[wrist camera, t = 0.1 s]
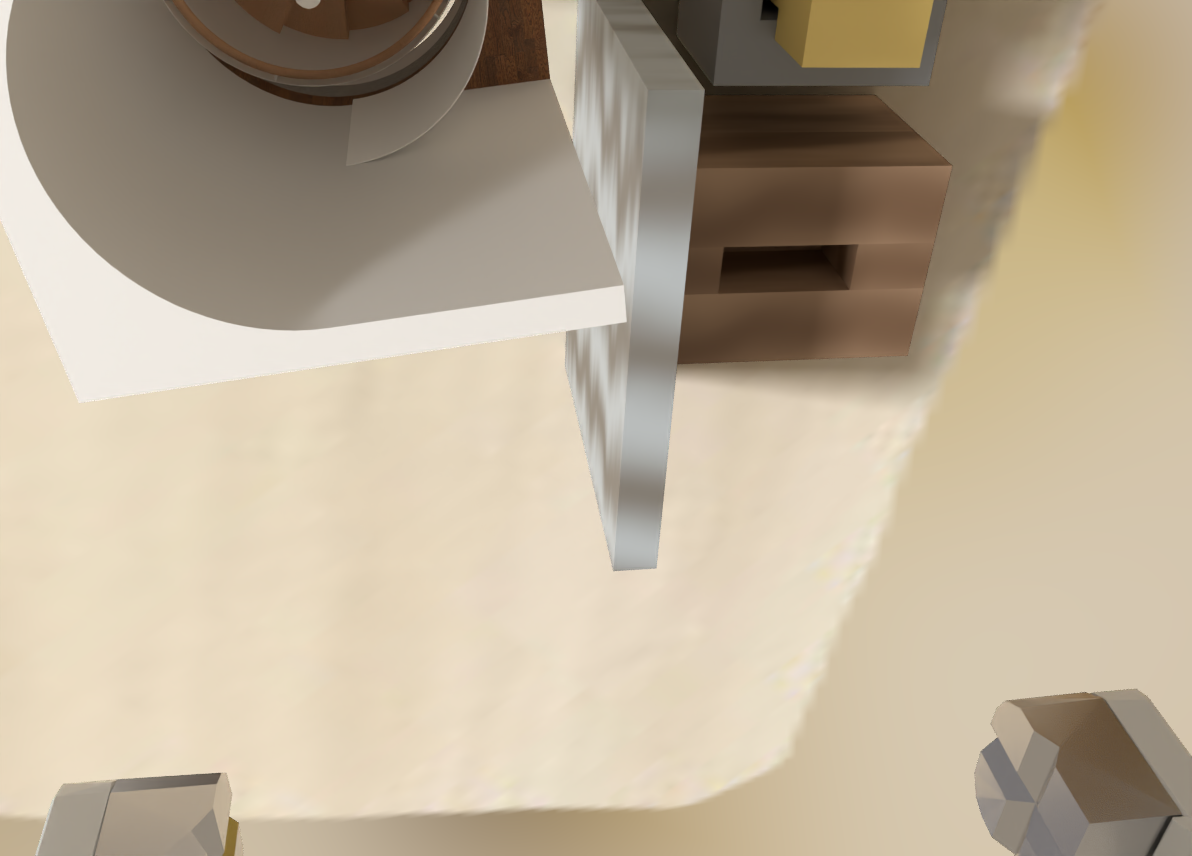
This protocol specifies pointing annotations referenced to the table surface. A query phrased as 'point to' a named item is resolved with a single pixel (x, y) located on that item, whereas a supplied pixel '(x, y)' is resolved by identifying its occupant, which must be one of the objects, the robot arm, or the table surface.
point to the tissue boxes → (729, 243)
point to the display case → (289, 185)
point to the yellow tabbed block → (853, 32)
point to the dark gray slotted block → (777, 48)
